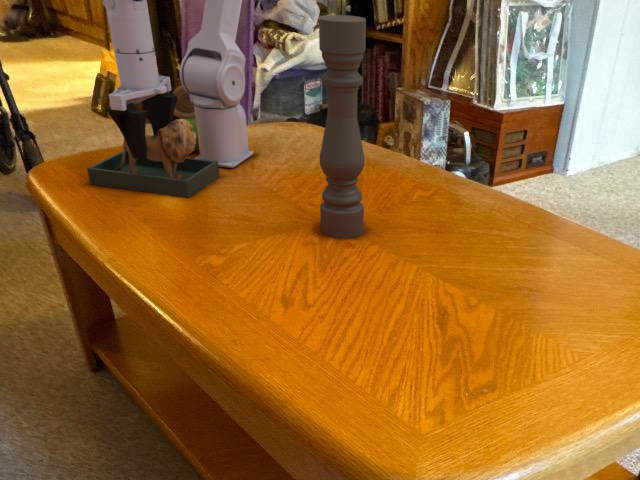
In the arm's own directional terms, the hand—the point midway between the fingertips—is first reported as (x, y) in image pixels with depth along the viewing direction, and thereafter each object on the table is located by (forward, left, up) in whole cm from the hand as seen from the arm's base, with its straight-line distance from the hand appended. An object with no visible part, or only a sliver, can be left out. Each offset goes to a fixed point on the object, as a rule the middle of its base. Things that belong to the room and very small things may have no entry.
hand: (152, 151), depth 108 cm
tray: (0, 0, -4) cm, 4 cm away
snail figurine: (-17, -3, -5) cm, 18 cm away
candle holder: (+10, +35, -5) cm, 37 cm away
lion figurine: (0, +1, -4) cm, 4 cm away
